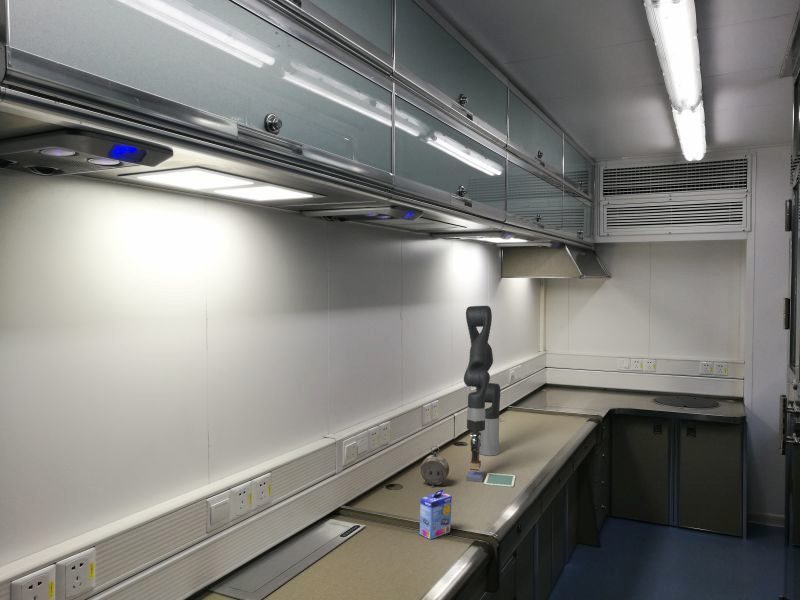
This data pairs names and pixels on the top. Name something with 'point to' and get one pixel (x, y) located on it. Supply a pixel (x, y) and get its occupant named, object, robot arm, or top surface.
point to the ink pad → (475, 476)
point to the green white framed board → (499, 480)
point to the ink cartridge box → (435, 514)
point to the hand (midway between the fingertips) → (475, 459)
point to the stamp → (475, 464)
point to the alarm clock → (434, 469)
